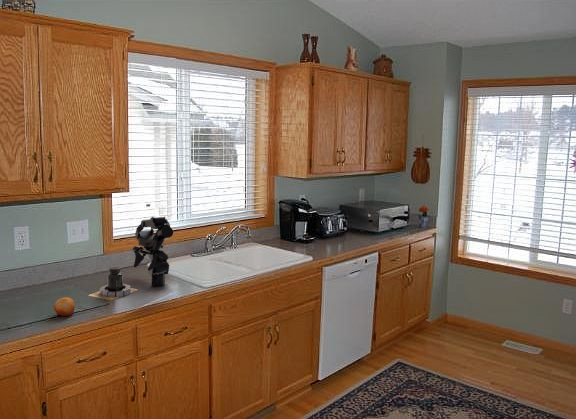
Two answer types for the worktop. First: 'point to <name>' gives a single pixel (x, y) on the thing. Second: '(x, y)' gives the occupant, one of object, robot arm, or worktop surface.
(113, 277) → the supplement bottle
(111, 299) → the oak board
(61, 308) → the fruit
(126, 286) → the steel ring
